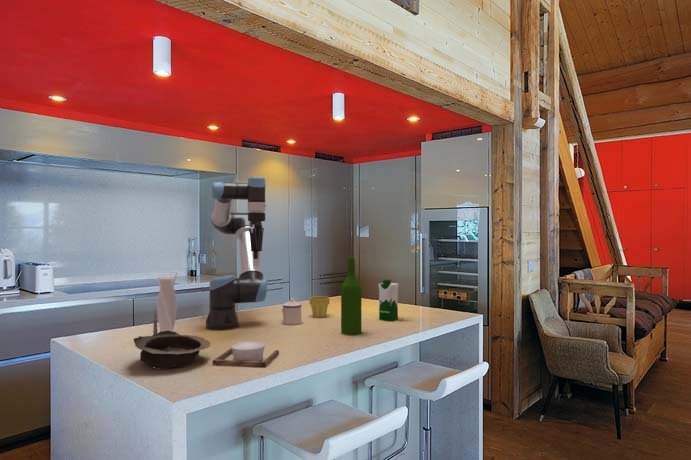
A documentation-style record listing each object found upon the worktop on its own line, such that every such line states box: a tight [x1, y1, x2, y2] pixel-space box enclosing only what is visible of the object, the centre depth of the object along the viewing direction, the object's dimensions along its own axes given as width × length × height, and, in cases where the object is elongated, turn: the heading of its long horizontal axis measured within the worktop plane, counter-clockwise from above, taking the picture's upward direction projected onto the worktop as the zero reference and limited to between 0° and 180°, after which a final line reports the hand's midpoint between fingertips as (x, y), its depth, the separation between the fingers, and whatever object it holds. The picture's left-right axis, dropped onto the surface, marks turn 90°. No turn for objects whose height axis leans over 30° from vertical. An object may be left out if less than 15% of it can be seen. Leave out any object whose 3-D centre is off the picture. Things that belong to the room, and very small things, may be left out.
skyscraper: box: [152, 271, 178, 335], centre depth 184 cm, size 8×8×28 cm
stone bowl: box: [133, 331, 211, 369], centre depth 153 cm, size 25×25×9 cm
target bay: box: [212, 347, 280, 368], centre depth 156 cm, size 18×15×2 cm
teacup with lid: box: [281, 298, 302, 326], centre depth 217 cm, size 12×9×12 cm
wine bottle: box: [340, 257, 362, 336], centre depth 196 cm, size 9×9×32 cm
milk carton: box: [378, 279, 399, 322], centre depth 224 cm, size 9×9×20 cm
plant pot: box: [308, 295, 330, 318], centre depth 232 cm, size 10×10×10 cm
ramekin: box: [231, 341, 266, 361], centre depth 155 cm, size 11×11×5 cm
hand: (256, 266), depth 195 cm, fingers closed
